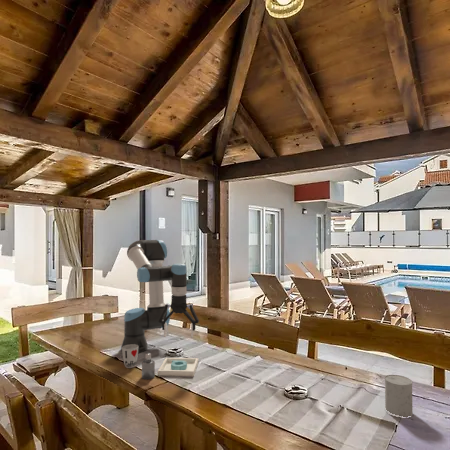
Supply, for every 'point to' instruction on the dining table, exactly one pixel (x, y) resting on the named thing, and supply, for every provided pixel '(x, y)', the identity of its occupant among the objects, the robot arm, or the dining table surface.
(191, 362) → the tray
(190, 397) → the dining table surface
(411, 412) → the grey cylinder
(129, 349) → the cup
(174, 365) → the ring
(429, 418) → the dining table surface
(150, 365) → the grey bottle
